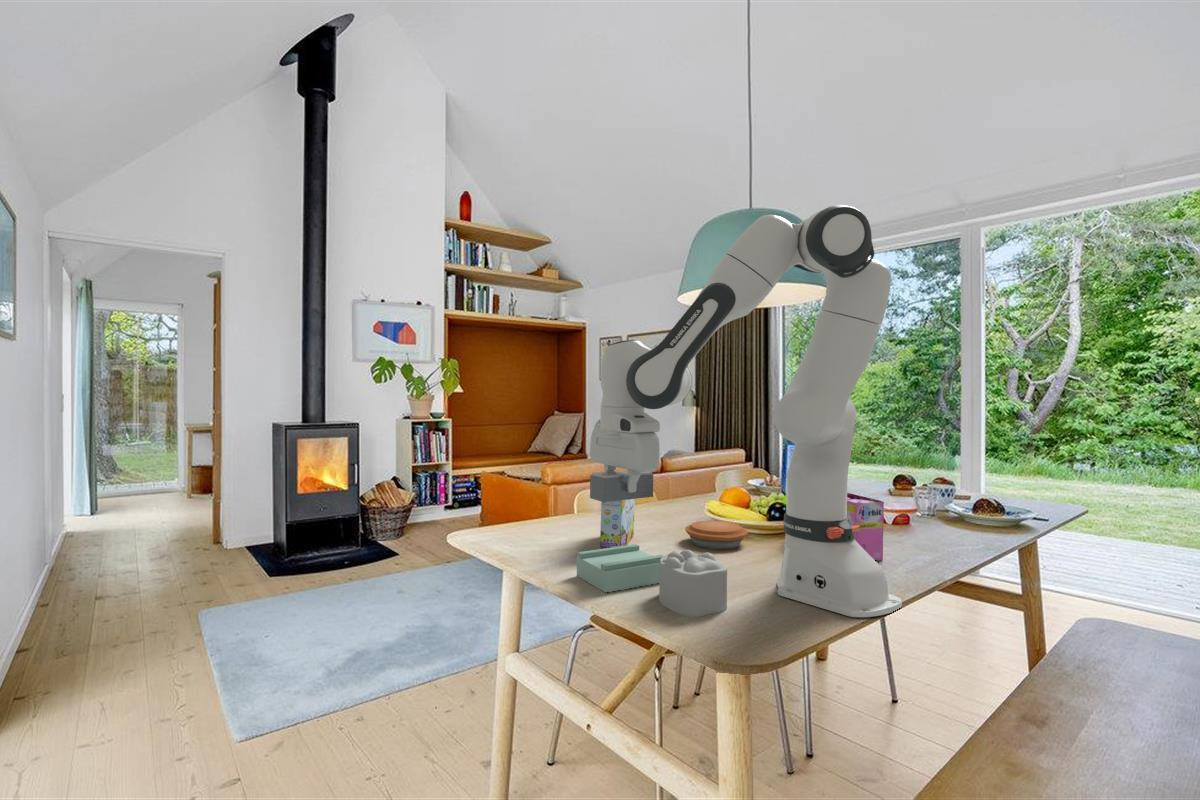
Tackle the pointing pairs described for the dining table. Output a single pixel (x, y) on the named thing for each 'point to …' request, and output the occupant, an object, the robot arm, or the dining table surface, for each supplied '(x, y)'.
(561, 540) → the dining table surface
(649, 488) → the block
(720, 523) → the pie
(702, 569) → the grey lumpy block
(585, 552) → the stand
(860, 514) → the gum box
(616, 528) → the snack box
